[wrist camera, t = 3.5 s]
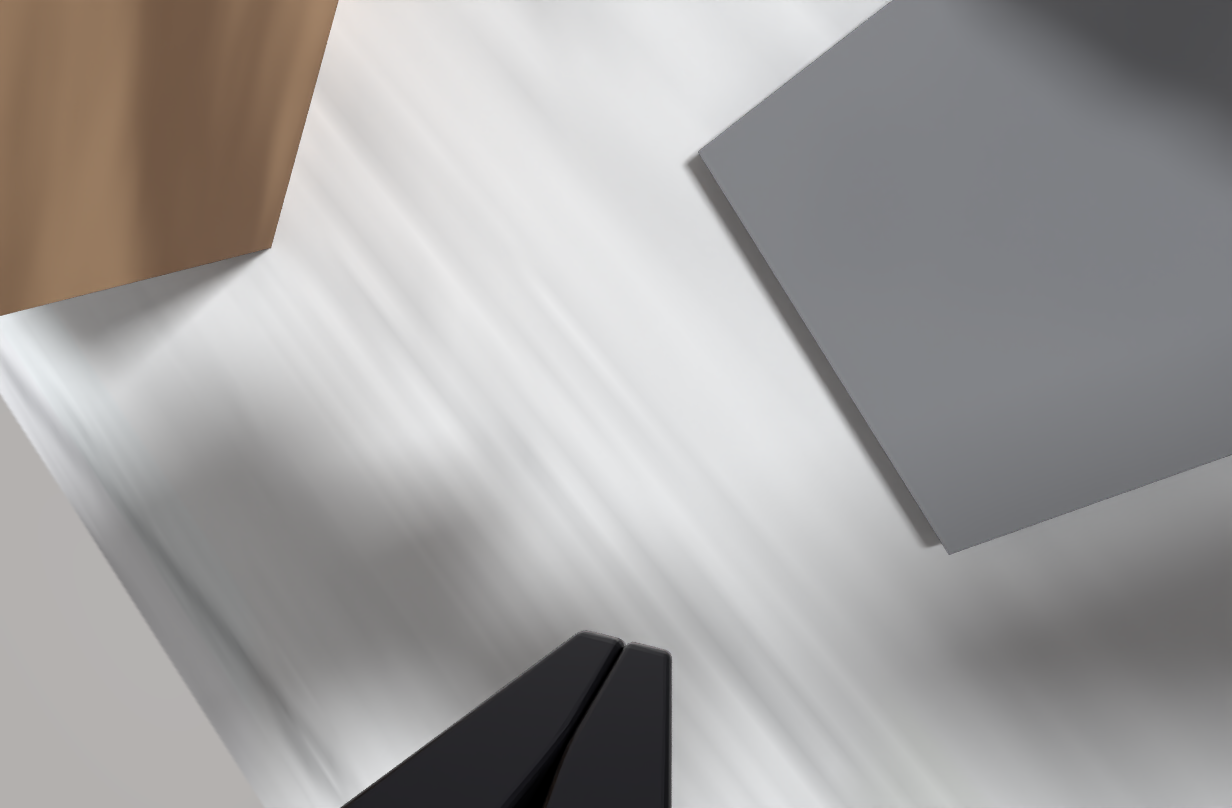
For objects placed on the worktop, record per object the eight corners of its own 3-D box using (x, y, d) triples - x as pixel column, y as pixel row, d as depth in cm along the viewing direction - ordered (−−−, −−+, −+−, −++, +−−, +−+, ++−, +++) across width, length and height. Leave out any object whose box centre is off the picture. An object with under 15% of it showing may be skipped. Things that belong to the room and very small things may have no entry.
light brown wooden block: (376, -137, 19) (-192, -250, 11) (271, 247, 25) (-160, 355, 17) (247, -228, 20) (-368, -393, 12) (173, 164, 26) (-282, 229, 18)
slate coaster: (1547, 325, 13) (1560, 337, 12) (955, 540, 18) (948, 554, 18) (1209, -238, 13) (1211, -249, 12) (710, 148, 18) (697, 151, 17)
